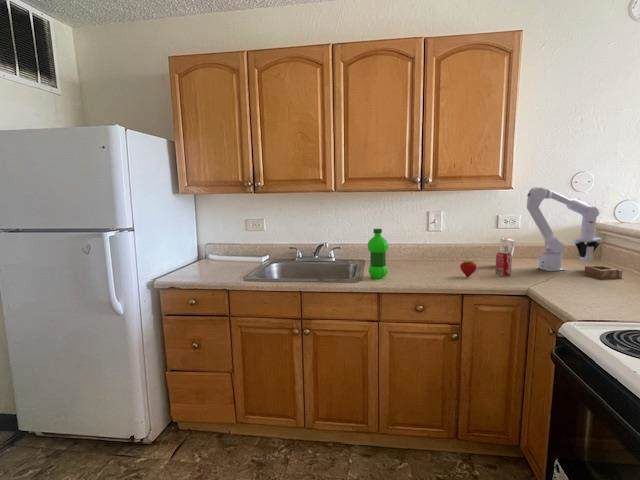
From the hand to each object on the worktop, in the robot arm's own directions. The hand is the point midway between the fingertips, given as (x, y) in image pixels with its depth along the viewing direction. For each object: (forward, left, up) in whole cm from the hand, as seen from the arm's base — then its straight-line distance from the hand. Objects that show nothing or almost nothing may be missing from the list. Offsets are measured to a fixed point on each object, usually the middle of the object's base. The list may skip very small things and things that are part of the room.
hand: (585, 256), depth 180 cm
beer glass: (-31, +18, -7) cm, 37 cm away
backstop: (+3, -11, -7) cm, 14 cm away
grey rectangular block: (0, 0, -2) cm, 2 cm away
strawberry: (-62, +2, -7) cm, 62 cm away
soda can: (-44, +1, -7) cm, 45 cm away
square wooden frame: (-2, -11, -7) cm, 13 cm away
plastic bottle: (-105, +12, -7) cm, 106 cm away
